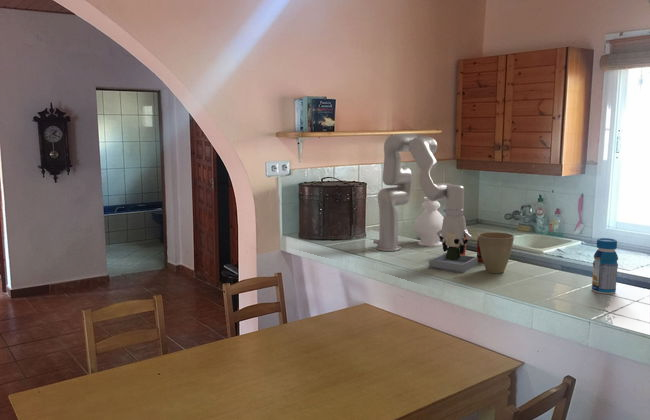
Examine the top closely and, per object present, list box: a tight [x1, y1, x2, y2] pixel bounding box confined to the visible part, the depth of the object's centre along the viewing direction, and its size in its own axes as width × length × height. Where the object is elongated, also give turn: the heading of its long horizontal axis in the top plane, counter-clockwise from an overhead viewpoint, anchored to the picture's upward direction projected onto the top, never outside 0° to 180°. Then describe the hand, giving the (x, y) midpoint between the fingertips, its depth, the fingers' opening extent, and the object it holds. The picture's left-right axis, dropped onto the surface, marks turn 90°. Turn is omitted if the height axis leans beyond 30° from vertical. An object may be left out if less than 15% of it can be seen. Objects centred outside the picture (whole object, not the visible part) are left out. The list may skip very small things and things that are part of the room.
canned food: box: [476, 238, 483, 263], centre depth 259 cm, size 8×8×11 cm
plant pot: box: [477, 231, 515, 274], centre depth 240 cm, size 15×15×16 cm
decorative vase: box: [413, 196, 444, 247], centre depth 297 cm, size 18×18×25 cm
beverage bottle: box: [591, 237, 619, 295], centre depth 209 cm, size 8×8×20 cm
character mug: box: [446, 232, 461, 261], centre depth 248 cm, size 11×7×13 cm, turn 130°
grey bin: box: [428, 252, 479, 274], centre depth 249 cm, size 16×18×4 cm
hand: (453, 251), depth 249 cm, fingers closed on character mug, 7 cm apart
